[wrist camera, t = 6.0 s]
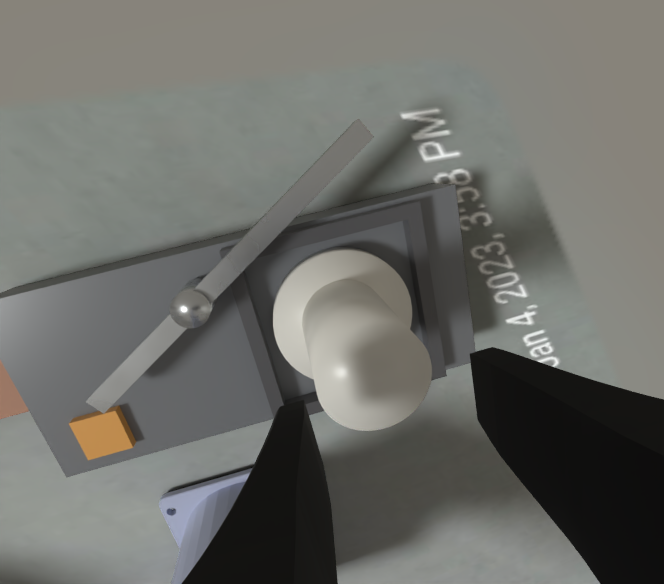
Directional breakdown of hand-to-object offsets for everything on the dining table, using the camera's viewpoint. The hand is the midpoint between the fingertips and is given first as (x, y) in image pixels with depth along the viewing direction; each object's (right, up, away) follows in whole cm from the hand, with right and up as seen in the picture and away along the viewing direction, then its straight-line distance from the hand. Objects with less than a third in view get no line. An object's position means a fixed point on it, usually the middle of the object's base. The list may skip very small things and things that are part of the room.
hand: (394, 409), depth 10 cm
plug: (-1, +2, +7) cm, 8 cm away
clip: (-6, +4, +6) cm, 9 cm away
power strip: (-5, +2, +10) cm, 11 cm away
